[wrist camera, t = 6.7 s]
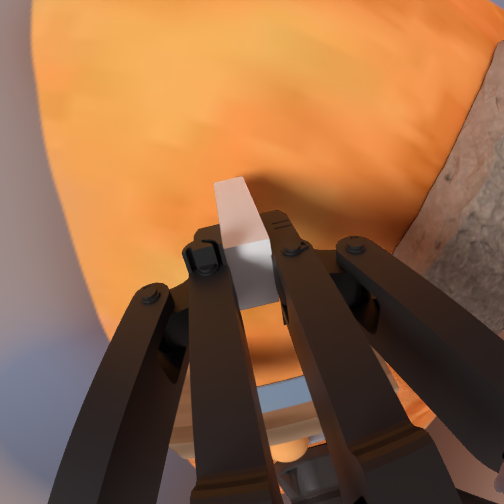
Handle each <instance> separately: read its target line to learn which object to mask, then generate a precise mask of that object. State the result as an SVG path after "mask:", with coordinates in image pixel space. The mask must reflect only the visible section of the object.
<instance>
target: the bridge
mask: <svg viewBox="0 0 504 504" xmlns="http://www.w3.org/2000/svg"><path fill="white" fill-rule="evenodd" d="M370 346H371V345H370ZM371 347H372V346H371ZM372 349H373V351H374V353H375V355H376V357H377V358H378V360H379V362H380V364H381V366H382V368H383V370H384V372H385V373H386V375H387V377H388V379H389V381H390V383H391V385H392V387H393V389H394V391H395V393H396V394H397V392H398V389H399V387H398V385H397V383H396V381H395V379H394V377H393V376H392V374H391V372H390V370H389V368H388V366H387V365H386V363H385V361H384V359H383V358H382V357H381V356H380V355H379V353H378V352H377V351H376V350H375V349H374V348H373V347H372ZM262 415H263V419H264V424H265V428H266V433H267V437H268V441H269V446H274V445H278V444H282V443H286V442H291V441H295V440H298V439H302V438H306V437H310V436H313V435H317V434H320V433H323V431H322V428H321V425H320V422H319V419H318V416H317V413H316V410H315V407H314V404H313V401H309V402H305V403H302V404H298V405H294V406H290V407H286V408H282V409H278V410H274V411H270V412H265V413H262ZM169 447H170V448H171V449H172V450H173V451H175V452H176V453H177V454H178V455H179V456H180V457H182V458H183V459H192V458H195V452H194V439H193V425H192V408H191V389H190V362H189V366H188V369H187V373H186V377H185V381H184V385H183V389H182V393H181V397H180V401H179V405H178V409H177V414H176V418H175V422H174V426H173V430H172V435H171V439H170V443H169Z"/></svg>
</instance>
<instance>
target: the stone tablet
mask: <svg viewBox="0 0 504 504" xmlns="http://www.w3.org/2000/svg"><path fill="white" fill-rule="evenodd" d="M392 255H393V256H394V257H396V258H397V259H399V260H400V261H401V262H403V263H404V264H406V265H407V266H409V267H410V268H411V269H413V270H414V271H416V272H417V273H418V274H420V275H421V276H422V277H424V278H425V279H427V280H428V281H429V282H431V283H432V284H433V285H435V286H436V287H437V288H439V289H440V290H441V291H443V292H444V293H445V294H447V295H448V296H449V297H451V298H452V299H453V300H454V301H456V302H457V303H458V304H460V305H461V306H462V307H463V308H465V309H466V310H467V311H468V312H470V313H471V314H472V315H473V316H475V317H476V318H477V319H478V320H480V321H481V322H482V323H483V324H485V325H486V326H487V327H488V328H489V329H491V330H492V331H493V332H494V333H495V334H499V333H500V332H501V331H502V330H503V329H504V40H502V41H501V42H499V43H498V45H497V47H496V49H495V53H494V56H493V60H492V63H491V65H490V67H489V70H488V72H487V74H486V76H485V79H484V82H483V84H482V87H481V89H480V91H479V93H478V95H477V97H476V99H475V102H474V104H473V106H472V108H471V110H470V112H469V114H468V117H467V119H466V121H465V123H464V125H463V128H462V130H461V132H460V134H459V136H458V139H457V141H456V143H455V145H454V147H453V149H452V151H451V153H450V155H449V157H448V159H447V160H446V164H445V167H444V168H443V169H442V171H441V172H440V173H439V175H438V177H437V179H436V181H435V183H434V185H433V187H432V189H431V190H430V192H429V194H428V196H427V198H426V200H425V202H424V204H423V206H422V208H421V210H420V212H419V214H418V216H417V217H416V219H415V220H414V222H413V223H412V225H411V226H410V228H409V230H408V231H407V233H406V234H405V236H404V237H403V239H402V240H401V241H400V243H399V244H398V246H397V247H396V248H395V250H394V252H393V254H392ZM384 361H385V360H384Z"/></svg>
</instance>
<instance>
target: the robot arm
mask: <svg viewBox="0 0 504 504" xmlns="http://www.w3.org/2000/svg"><path fill="white" fill-rule="evenodd" d="M214 188H215V196H216V203H217V210H218V217H219V224H217V225H213V226H209V227H205V228H201V229H198V230H197V232H196V233H195V235H194V241H193V242H191V243H189V244H188V245H187V246H186V247H185V248H184V249H183V251H182V255H183V258H184V261H185V264H186V267H187V270H188V273H189V278H188V280H186V281H185V282H184V283H182V284H180V285H178V286H176V287H174V288H172V289H170V290H169V288H168V286H167V285H165V284H163V283H152V284H149V285H146V286H144V287H142V288H141V289H140V290H138V291H137V292H136V293H135V295H134V296H133V298H132V300H131V302H130V304H129V306H128V307H127V309H126V311H125V313H124V315H123V317H122V319H121V321H120V323H119V325H118V327H117V329H116V332H115V334H114V336H113V338H112V340H111V342H110V344H109V346H108V348H107V351H106V353H105V355H104V357H103V359H102V361H101V363H100V366H99V368H98V370H97V372H96V375H95V377H94V379H93V381H92V384H91V386H90V388H89V391H88V393H87V395H86V398H85V400H84V403H83V405H82V407H81V410H80V412H79V415H78V417H77V420H76V422H75V425H74V428H73V430H72V433H71V436H70V438H69V441H68V443H67V446H66V449H65V452H64V455H63V458H62V460H61V463H60V466H59V469H58V472H57V475H56V478H55V481H54V485H53V488H52V491H51V494H50V498H49V501H48V504H156V502H157V497H158V493H159V488H160V483H161V478H162V474H163V469H164V465H165V461H166V456H167V452H168V447H169V443H170V439H171V435H172V430H173V426H174V422H175V418H176V414H177V409H178V405H179V401H180V397H181V393H182V389H183V385H184V381H185V377H186V373H187V369H188V366H189V362H190V389H191V408H192V425H193V439H194V452H195V463H196V474H197V482H196V486H195V487H194V489H193V490H192V492H191V497H190V504H284V503H283V499H282V496H281V493H280V489H279V485H280V486H281V488H282V489H283V491H284V492H285V494H286V495H287V496H288V498H289V499H290V501H291V504H497V503H495V502H492V501H489V500H486V499H483V498H480V497H478V496H475V495H472V494H470V493H467V492H465V491H462V490H459V489H457V488H455V486H454V483H453V481H452V479H451V477H450V475H449V472H448V470H447V468H446V466H445V464H444V462H443V460H442V457H441V455H440V453H439V451H438V449H437V447H436V445H435V443H434V441H433V439H432V438H431V436H430V435H429V433H428V432H426V431H425V430H424V429H423V428H420V427H416V426H414V425H413V424H412V423H411V421H410V420H409V418H408V416H407V414H406V412H405V410H404V408H403V406H402V404H401V402H400V400H399V398H398V396H397V394H396V393H395V391H394V389H393V387H392V385H391V383H390V381H389V379H388V377H387V375H386V373H385V372H384V370H383V368H382V366H381V364H380V362H379V360H378V358H377V357H376V355H375V353H374V351H373V349H372V347H373V348H374V349H375V350H376V351H377V352H378V353H379V355H380V356H381V357H382V358H383V359H384V360H385V361H386V362H387V363H388V364H389V365H390V366H391V367H392V368H393V369H394V370H395V371H396V373H397V374H398V375H399V376H400V377H401V378H402V379H403V380H404V381H405V382H406V383H407V384H408V385H409V386H410V387H411V388H412V390H413V391H414V392H415V393H416V394H417V395H418V396H419V397H420V398H421V399H422V400H423V401H424V402H425V404H426V405H427V406H428V407H429V408H430V409H431V410H432V411H433V412H434V413H435V414H436V415H437V416H438V418H439V419H440V420H441V421H442V422H443V423H444V424H445V425H446V426H447V427H448V429H449V430H450V431H451V432H452V433H453V434H454V435H455V436H456V437H457V439H458V440H459V441H460V442H461V443H462V444H463V445H464V446H465V447H466V449H467V450H468V451H469V452H470V453H471V454H473V455H474V456H475V458H477V459H478V460H479V461H480V462H481V463H483V464H484V465H486V466H487V467H488V468H490V469H492V470H493V471H495V472H497V473H499V475H498V476H497V478H496V479H495V482H494V488H495V490H496V491H497V492H503V493H504V340H502V339H501V338H500V337H499V336H498V335H497V334H495V333H494V332H493V331H492V330H491V329H489V328H488V327H487V326H486V325H485V324H483V323H482V322H481V321H480V320H478V319H477V318H476V317H475V316H473V315H472V314H471V313H470V312H468V311H467V310H466V309H465V308H463V307H462V306H461V305H460V304H458V303H457V302H456V301H454V300H453V299H452V298H451V297H449V296H448V295H447V294H445V293H444V292H443V291H441V290H440V289H439V288H437V287H436V286H435V285H433V284H432V283H431V282H429V281H428V280H427V279H425V278H424V277H422V276H421V275H420V274H418V273H417V272H416V271H414V270H413V269H411V268H410V267H409V266H407V265H406V264H404V263H403V262H401V261H400V260H399V259H397V258H396V257H394V256H393V255H391V254H390V253H389V252H387V251H386V250H384V249H383V248H381V247H380V246H378V245H377V244H375V243H374V242H372V241H371V240H369V239H367V238H365V237H360V236H350V237H346V238H343V239H341V240H340V241H338V243H337V244H336V250H316V249H314V248H313V247H312V245H311V244H310V243H309V242H308V241H305V240H302V239H301V238H300V236H299V235H298V233H297V231H296V230H295V228H294V226H293V225H292V223H291V221H290V220H289V218H288V216H287V215H286V214H285V213H283V212H281V211H279V210H276V211H271V212H266V213H262V214H259V213H258V211H257V208H256V206H255V204H254V201H253V199H252V197H251V195H250V192H249V190H248V188H247V185H246V183H245V181H244V179H243V176H242V177H237V178H232V179H228V180H224V181H219V182H215V183H214ZM278 295H279V296H278ZM279 298H280V301H281V308H282V315H283V322H284V325H286V324H287V327H288V330H289V333H290V336H291V339H292V342H293V345H294V348H295V351H296V354H297V356H298V359H299V362H300V365H301V368H302V371H303V374H304V377H305V380H306V383H307V386H308V389H309V392H310V395H311V398H312V401H313V404H314V407H315V410H316V413H317V416H318V419H319V422H320V425H321V428H322V431H323V434H324V437H325V440H326V443H327V444H324V445H320V446H316V447H313V448H309V449H307V450H306V452H305V453H304V455H303V456H302V457H300V458H299V459H297V460H295V461H292V462H279V461H278V462H277V463H276V464H275V465H274V463H273V459H272V455H271V450H270V446H269V441H268V437H267V433H266V428H265V424H264V419H263V415H262V410H261V405H260V401H259V396H258V392H257V387H256V382H255V378H254V373H253V368H252V363H251V359H250V354H249V349H248V344H247V339H246V334H245V329H244V325H243V320H242V316H241V312H240V310H244V309H249V308H253V307H257V306H261V305H266V304H270V303H274V302H278V301H279ZM370 345H371V346H372V347H371V346H370ZM278 483H279V484H278Z"/></svg>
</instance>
